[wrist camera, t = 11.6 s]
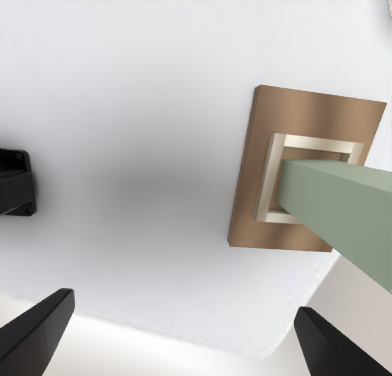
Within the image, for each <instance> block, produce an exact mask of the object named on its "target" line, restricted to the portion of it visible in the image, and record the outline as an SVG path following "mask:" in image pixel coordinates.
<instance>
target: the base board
mask: <svg viewBox="0 0 392 376" xmlns="http://www.w3.org/2000/svg"><path fill="white" fill-rule="evenodd" d="M386 105H387V103H385V102H378V101H371V100H364V99H357V98H350V97H343V96H336V95H329V94H322V93H315V92H308V91H301V90H294V89H287V88H280V87H273V86H266V85H259V86H258V87H256V88H255V94H254V99H253V105H252V110H251V116H250V121H249V126H248V132H247V137H246V143H245V148H244V154H243V159H242V165H241V170H240V176H239V181H238V187H237V192H236V198H235V203H234V209H233V214H232V220H231V225H230V231H229V236H228V242H229V245H230V247H247V248H265V249H282V250H300V251H318V252H331V251H332V249H333V247H332V246H330V245H329V244H328V243H327V242H325V241H324V240H323V239H322V238H320V237H319V236H318V235H317V234H315V233H314V232H313V231H312V230H310V229H309V228H308V227H306V226H305V225H304V224H303V223H301V222H300V221H299V220H298V219H296V218H295V217H294V216H293V215H291V214H290V213H289V212H288V211H286V210H285V209H284V208H283V207H281V206H280V205H279V204H278V203H276V202H277V195H278V188H279V181H280V174H281V167H282V159H331V160H336V161H341V162H345V163H350V164H355V165H360V166H364V163H365V161H366V158H367V155H368V153H369V150H370V147H371V145H372V142H373V139H374V137H375V134H376V131H377V129H378V126H379V123H380V121H381V118H382V115H383V113H384V110H385V107H386Z"/></svg>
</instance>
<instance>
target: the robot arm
mask: <svg viewBox="0 0 392 376" xmlns="http://www.w3.org/2000/svg"><path fill="white" fill-rule="evenodd" d="M19 154H21V156H22V158H21V157H20V156H19ZM28 210H30V212H29V211H28ZM35 213H36V206H35V199H34V191H33V185H32V178H31V173H30V166H29V160H28V155H27V153H26V152H25V151H23V150H16V149H6V148H0V216H1V215H16V216H32V215H33V214H35ZM74 308H75V298H74V290H73V289H69V288H61V289H59V290H58V291H56V292H55V293H53V294H52V295H50V296H48V297H47V298H45V299H44V300H42V301H41V302H39V303H38V304H36V305H35V306H33V307H32V308H30V309H29V310H27V311H26V312H24V313H23V314H21V315H20V316H18V317H16V318H15V319H14V320H12V321H10V322H9V323H7V324H6V325H4V326H3V327H1V328H0V376H42V374H43V373H44V371H45V369H46V367H47V366H48V364H49V362H50V360H51V358H52V356H53V354H54V352H55V350H56V348H57V346H58V343H59V341H60V339H61V337H62V335H63V333H64V331H65V329H66V326H67V324H68V322H69V320H70V318H71V316H72V314H73V311H74ZM294 328H295V331H296V334H297V337H298V339H299V343H300V346H301V349H302V351H303V354H304V358H305V360H306V363H307V366H308V369H309V372H310V374H311V376H392V374H391V373H390V372H389V371H388V370H387V369H385V368H384V367H383V366H382V365H380V364H379V363H378V362H377V361H376V360H374V359H373V358H372V357H371V356H369V355H368V354H367V353H366V352H365V351H363V350H362V349H361V348H360V347H358V346H357V345H356V344H355V343H354V342H352V341H351V340H350V339H349V338H348V337H346V336H345V335H344V334H342V333H341V332H340V331H339V330H338V329H337V328H335V327H334V326H333V325H332V324H330V323H329V322H328V321H327V320H326V319H324V318H323V317H322V316H321V315H319V314H318V313H317V312H316V311H315V310H313V309H312V308H310V307H303V306H301V307H299V309H298V311H297V314H296V316H295V319H294Z"/></svg>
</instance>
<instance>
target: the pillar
mask: <svg viewBox="0 0 392 376" xmlns="http://www.w3.org/2000/svg"><path fill="white" fill-rule="evenodd" d="M276 203H278V204H279V205H280V206H281V207H283V208H284V209H285V210H286V211H288V212H289V213H290V214H291V215H293V216H294V217H295V218H296V219H298V220H299V221H300V222H301V223H303V224H304V225H305V226H306V227H308V228H309V229H310V230H312V231H313V232H314V233H315V234H317V235H318V236H319V237H320V238H322V239H323V240H324V241H325V242H327V243H328V244H329V245H330V246H332V247H333V248H334V249H335V250H337V251H338V252H339V253H340V254H342V255H343V256H344V257H346V258H347V259H348V260H349V261H351V262H352V263H353V264H354V265H356V266H357V267H358V268H359V269H361V270H362V271H363V272H364V273H366V274H367V275H368V276H369V277H371V278H372V279H373V280H375V281H376V282H377V283H378V284H379V285H381V286H382V287H383V288H385V289H386V290H387V291H388V292H390V293H391V294H392V172H388V171H383V170H379V169H374V168H369V167H364V166H360V165H355V164H350V163H345V162H341V161H336V160H331V159H282V167H281V174H280V181H279V188H278V195H277V202H276Z"/></svg>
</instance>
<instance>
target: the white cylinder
mask: <svg viewBox="0 0 392 376" xmlns="http://www.w3.org/2000/svg"><path fill="white" fill-rule="evenodd" d="M388 4H389V12H390V14H391V16H392V0H388Z"/></svg>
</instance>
